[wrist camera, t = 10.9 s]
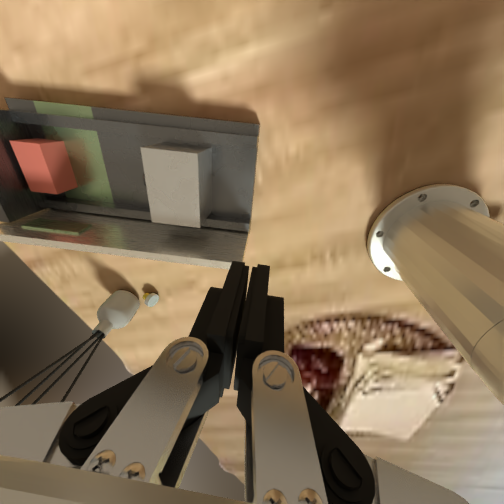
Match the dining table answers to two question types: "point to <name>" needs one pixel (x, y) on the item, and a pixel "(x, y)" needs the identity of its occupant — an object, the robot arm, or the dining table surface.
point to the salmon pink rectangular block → (45, 165)
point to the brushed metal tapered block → (178, 183)
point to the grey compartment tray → (125, 183)
